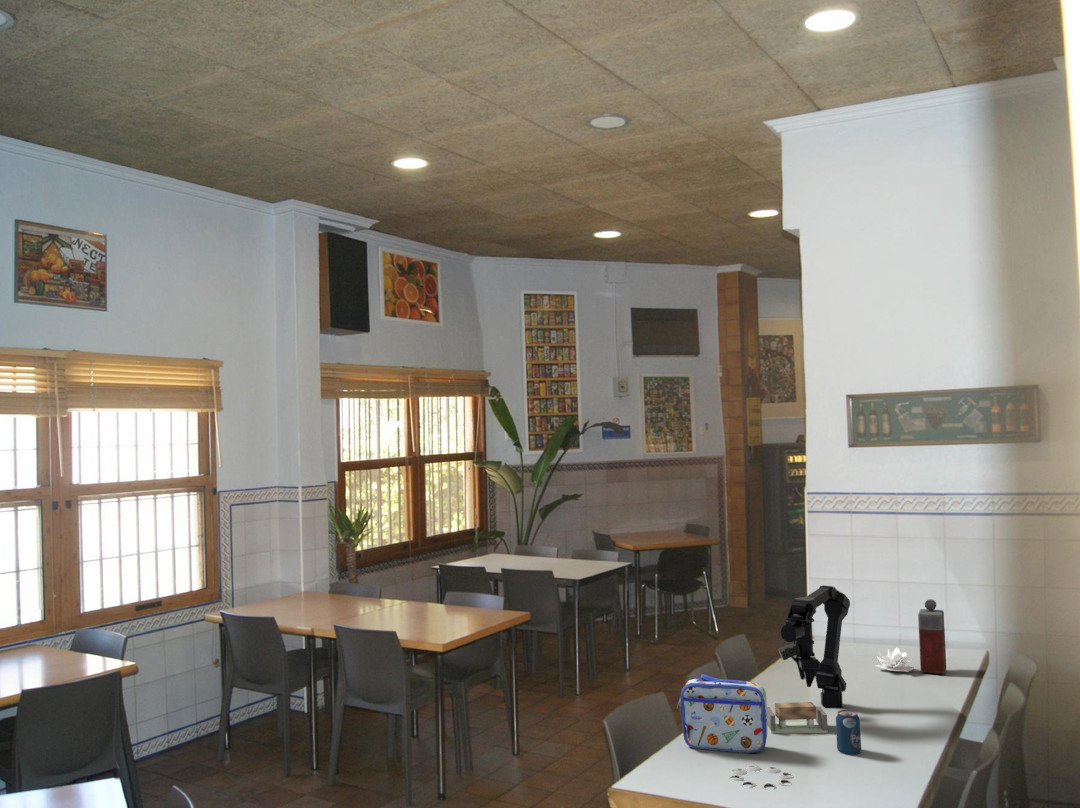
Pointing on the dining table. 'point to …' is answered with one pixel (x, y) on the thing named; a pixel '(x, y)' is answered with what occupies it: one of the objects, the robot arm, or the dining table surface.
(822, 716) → the peg cradle
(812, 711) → the shelf block
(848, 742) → the soda can
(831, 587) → the robot arm
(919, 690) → the dining table surface
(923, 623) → the red decanter bottle
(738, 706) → the lunch box
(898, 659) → the lotus flower
